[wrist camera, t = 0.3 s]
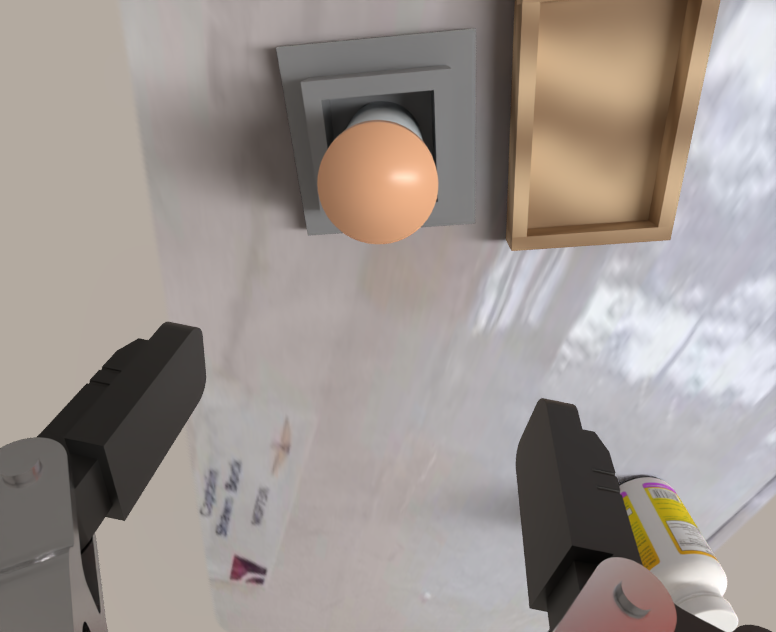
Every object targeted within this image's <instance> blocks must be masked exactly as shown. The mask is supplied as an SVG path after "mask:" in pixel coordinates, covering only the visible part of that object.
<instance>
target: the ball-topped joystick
mask: <svg viewBox="0 0 776 632" xmlns="http://www.w3.org/2000/svg"><path fill="white" fill-rule="evenodd" d="M317 186H318V194H319V199H320V202H321V205H322V207H323V209H324V211H325V213H326V215H327V216H328V218H329V219H330V221H331V222H332V223H333V224H334V225H335V226H336V227H337V228H338V229H339V230H340V231H341V232H343V233H344V234H346V235H347V236H349V237H351V238H353V239H355V240H358V241H361V242H365V243H370V244H387V243H393V242H396V241H399V240H402V239H404V238H406V237H408V236H410V235H411V234H413V233H414V232H416V231H417V230H418V229H419V228H420V227H421V226H422V225H423V224H424V223H425V222H426V220H427V219H428V217H429V216H430V214H431V212H432V210H433V208H434V206H435V203H436V199H437V194H438V175H437V170H436V166H435V163H434V160H433V157H432V155H431V153H430V151H429V149H428V147H427V146H426V145H425V143H424V142H423V140H422V135H421V131H420V128H419V125H418V123H417V121H416V119H415V118H414V116H413V115H412V114H411V113H410V112H409V111H408V110H407V109H406V108H404V107H403V106H401V105H399V104H396V103H393V102H389V101H378V102H373V103H370V104H368V105H366V106H364V107H363V108H361V109H360V110H359V111H358V112H357V113H356V114H355V115H354V116H353V118H352V119H351V121H350V123H349V125H348V126H347V128H346V130H344V131H343V132H342V133H341V134H340V135H338V136H337V137H336V138H335V140H334V141H333V142H332V143H331V145H330V146H329V148H328V149H327V151H326V153H325V155H324V157H323V159H322V161H321V164H320V167H319V172H318V180H317Z"/></svg>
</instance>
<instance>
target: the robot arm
mask: <svg viewBox="0 0 776 632" xmlns="http://www.w3.org/2000/svg"><path fill="white" fill-rule="evenodd" d="M205 383H206V369H205V358H204V346H203V335H202V331H201V329H200V328H197V327H192V326H187V325H182V324H177V323H173V322H165V323H163V324H162V325H161V326H160V327H159V329H158V330H157V331H156V332H155V333H154V335H153V336H152V337H151V338H150V339H149V340H144V339H137V340H135V341H133V342H131V343H130V344H128V345H126V346H125V347H123V348H121V349H119V350H117V351H116V352H115V353H114V354H113V356H112V357H111V358H110V359H109V360H108V361H107V362H106V363H105V364H104V365H103V367H102V370H99V371H98V372H97V373H96V374H95V375H94V376H93V377H92V378H91V379H90V383H89V384H86V385H85V386H84V387H83V388H82V389H81V390H80V391H79V392H78V393H77V395H76V396H75V397H74V398H73V399H72V400H71V401H70V402H69V403H68V404H67V406H65V407H64V409H63V410H62V411H61V412H60V413H59V414H58V415H57V416H56V417H55V418H54V419H53V421H52V422H51V423H50V424H49V425H48V426H47V427H46V428H45V429H44V430H43V431H42V432H41V433H40V434H39V435H38V436H37V437H35V438H27V439H22V440H18V441H15V442H12V443H10V444H7V445H5V446H3V447H2V448H0V632H108V629H107V624H106V618H105V609H104V601H103V592H102V584H101V576H100V568H99V558H98V550H97V541H96V535H95V531H96V530H97V529H98V527H99V526H100V524H101V523H102V521H103V520H104V518H105V517H109V518H114V519H118V520H123V521H125V520H126V518H127V516H128V515H129V513H130V512H131V510H132V508H133V507H134V505H135V504H136V502H137V500H138V499H139V497H140V496H141V494H142V492H143V491H144V489H145V487H146V486H147V484H148V483H149V481H150V480H151V478H152V476H153V475H154V473H155V472H156V470H157V468H158V467H159V465H160V463H161V462H162V460H163V459H164V457H165V456H166V454H167V452H168V451H169V449H170V448H171V446H172V444H173V443H174V441H175V440H176V438H177V436H178V435H179V433H180V432H181V430H182V428H183V427H184V425H185V424H186V422H187V420H188V419H189V417H190V415H191V414H192V412H193V411H194V409H195V407H196V406H197V404H198V403H199V401H200V399H201V397H202V394H203V391H204V388H205ZM516 474H517V484H518V495H519V505H520V515H521V525H522V535H523V546H524V556H525V566H526V576H527V586H528V596H529V607H530V608H531V609H536V610H541V611H546V612H548V618H549V626H550V629H549V630H548V632H725V631H723V630H721V629H719V628H717V627H716V626H714V625H712V624H710V623H708V622H706V621H704V620H702V619H700V618H698V617H696V616H695V615H693V614H691V613H689V612H687V611H685V610H684V609H682V608H680V607H679V606H677V605H676V604H675V603H674V602H673V600H672V598H671V596H670V594H669V592H668V591H667V589H666V588H665V586H664V585H663V584H662V582H661V581H660V580H659V579H658V578H657V577H656V576H655V575H654V574H653V573H652V572H651V571H649V570H648V569H647V568H645V567H644V566H643V564H642V561H641V558H640V555H639V551H638V548H637V544H636V541H635V538H634V534H633V531H632V528H631V524H630V521H629V517H628V514H627V511H626V507H625V504H624V500H623V497H622V495H621V494H620V487H619V484H618V480H617V477H615V470H614V467H613V463H612V460H611V457H610V453H609V451H608V450H607V448H606V447H605V446H604V444H603V443H602V441H601V440H600V439H599V437H598V436H597V434H596V433H595V432H593V431H588V430H583V429H582V426H581V422H580V418H579V414H578V410H577V408H576V406H575V405H573V404H569V403H564V402H559V401H554V400H549V399H544V398H541V399H540V400H539V401H538V402H537V404H536V406H535V409H534V411H533V413H532V415H531V417H530V420H529V422H528V424H527V426H526V428H525V430H524V433H523V435H522V437H521V439H520V442H519V445H518V449H517V454H516ZM732 632H772V631H769V630H768V629H765V628H762V627H759V626H754V625H743V626H740V627H738V628H736V629H735V630H734V631H732Z"/></svg>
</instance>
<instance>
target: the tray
mask: <svg viewBox="0 0 776 632" xmlns="http://www.w3.org/2000/svg"><path fill="white" fill-rule="evenodd" d="M719 5H720V0H515V6H514V33H513V60H512V88H511V115H510V142H509V169H508V197H507V224H506V241H507V243H508V245H509V247H510V249H511V250H512V251H518V250H533V249H547V248H562V247H576V246H590V245H605V244H619V243H634V242H648V241H663V240H670V239H671V234H672V229H673V225H674V220H675V215H676V210H677V205H678V201H679V196H680V191H681V186H682V182H683V177H684V172H685V167H686V162H687V158H688V153H689V148H690V143H691V139H692V134H693V129H694V124H695V119H696V115H697V110H698V105H699V100H700V95H701V91H702V86H703V81H704V76H705V72H706V67H707V62H708V57H709V52H710V48H711V43H712V38H713V33H714V28H715V24H716V19H717V14H718V9H719Z"/></svg>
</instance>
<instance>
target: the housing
mask: <svg viewBox="0 0 776 632" xmlns="http://www.w3.org/2000/svg"><path fill="white" fill-rule="evenodd" d="M276 51H277V56H278V62H279V68H280V74H281V80H282V86H283V92H284V98H285V103H286V109H287V115H288V121H289V127H290V133H291V139H292V145H293V151H294V156H295V162H296V168H297V174H298V180H299V186H300V192H301V198H302V204H303V209H304V215H305V221H306V227H307V233H308V235H322V234H336V233H343V232H341V231H340V230H339V229H338V228H337V227H336V226H335V225H334V224H333V223H332V222H331V221H330V219H329V218H328V216H327V215H326V213H325V211H324V209H323V207H322V205H321V202H320V199H319V194H318V186H317V180H318V172H319V167H320V164H321V161H322V159H323V157H324V155H325V153H326V151H327V149H328V148H329V146H330V145H331V143H332V142H333V141H334V140H335V138H336V137H337V136H338V135H340V134H341V133H342V132H343V131H344V130H346V128H347V126H348V125H349V123H350V121H351V119H352V118H353V116H354V115H355V114H356V113H357V112H358V111H359V110H360V109H361V108H363V107H364V106H366V105H368V104H370V103H373V102H378V101H389V102H393V103H396V104H399V105H401V106H403V107H404V108H406V109H407V110H408V111H409V112H410V113H411V114H412V115H413V116H414V118H415V119H416V121H417V123H418V125H419V128H420V131H421V135H422V140H423V142H424V143H425V145H426V146H427V147H428V149H429V151H430V153H431V155H432V157H433V160H434V163H435V166H436V170H437V175H438V194H437V199H436V203H435V206H434V208H433V210H432V212H431V214H430V216H429V217H428V219H427V220H426V222H425V223H424V224H423V225H422V226H421V227H432V226H446V225H460V224H474V223H475V172H476V28H473V29H462V30H452V31H441V32H431V33H420V34H409V35H399V36H388V37H377V38H367V39H356V40H346V41H335V42H324V43H314V44H303V45H292V46H282V47H276Z"/></svg>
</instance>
